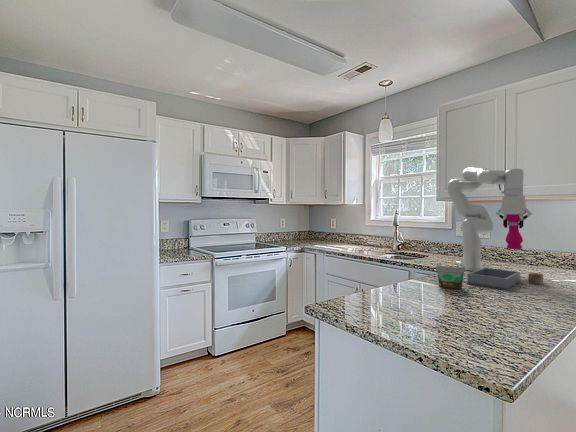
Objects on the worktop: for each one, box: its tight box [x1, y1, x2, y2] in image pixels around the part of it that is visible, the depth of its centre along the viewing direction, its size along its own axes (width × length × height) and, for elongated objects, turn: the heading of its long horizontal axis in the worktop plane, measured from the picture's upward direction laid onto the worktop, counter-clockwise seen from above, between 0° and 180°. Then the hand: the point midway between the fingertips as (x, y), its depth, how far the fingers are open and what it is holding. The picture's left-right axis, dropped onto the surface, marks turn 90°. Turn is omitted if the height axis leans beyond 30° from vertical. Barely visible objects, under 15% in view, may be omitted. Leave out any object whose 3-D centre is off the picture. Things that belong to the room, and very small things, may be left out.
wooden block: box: [527, 272, 544, 286], centre depth 152 cm, size 5×5×5 cm
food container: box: [435, 264, 467, 291], centre depth 140 cm, size 12×6×10 cm, turn 62°
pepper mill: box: [505, 215, 524, 250], centre depth 158 cm, size 7×7×20 cm
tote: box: [466, 267, 521, 291], centre depth 152 cm, size 16×26×5 cm, turn 132°
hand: (513, 227), depth 158 cm, fingers closed on pepper mill, 5 cm apart
